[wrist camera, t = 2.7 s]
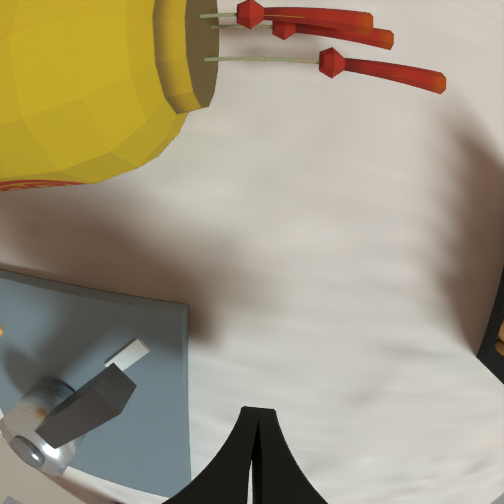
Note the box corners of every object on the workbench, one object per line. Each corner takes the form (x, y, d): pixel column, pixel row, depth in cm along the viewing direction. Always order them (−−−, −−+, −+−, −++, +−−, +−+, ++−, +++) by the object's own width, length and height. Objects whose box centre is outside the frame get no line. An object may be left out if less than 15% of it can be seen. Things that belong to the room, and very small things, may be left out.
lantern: (502, -94, 1) (-146, 84, 3) (503, 250, 6) (-131, 230, 7) (391, -17, 10) (-49, 60, 12) (385, 158, 15) (-41, 176, 16)
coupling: (73, 439, 18) (43, 485, 13) (26, 392, 17) (-12, 433, 12) (178, 378, 16) (148, 450, 11) (111, 308, 15) (55, 363, 10)
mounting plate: (192, 491, 21) (189, 503, 19) (21, 433, 21) (15, 441, 20) (188, 304, 16) (181, 316, 15) (-31, 261, 17) (-43, 266, 15)
